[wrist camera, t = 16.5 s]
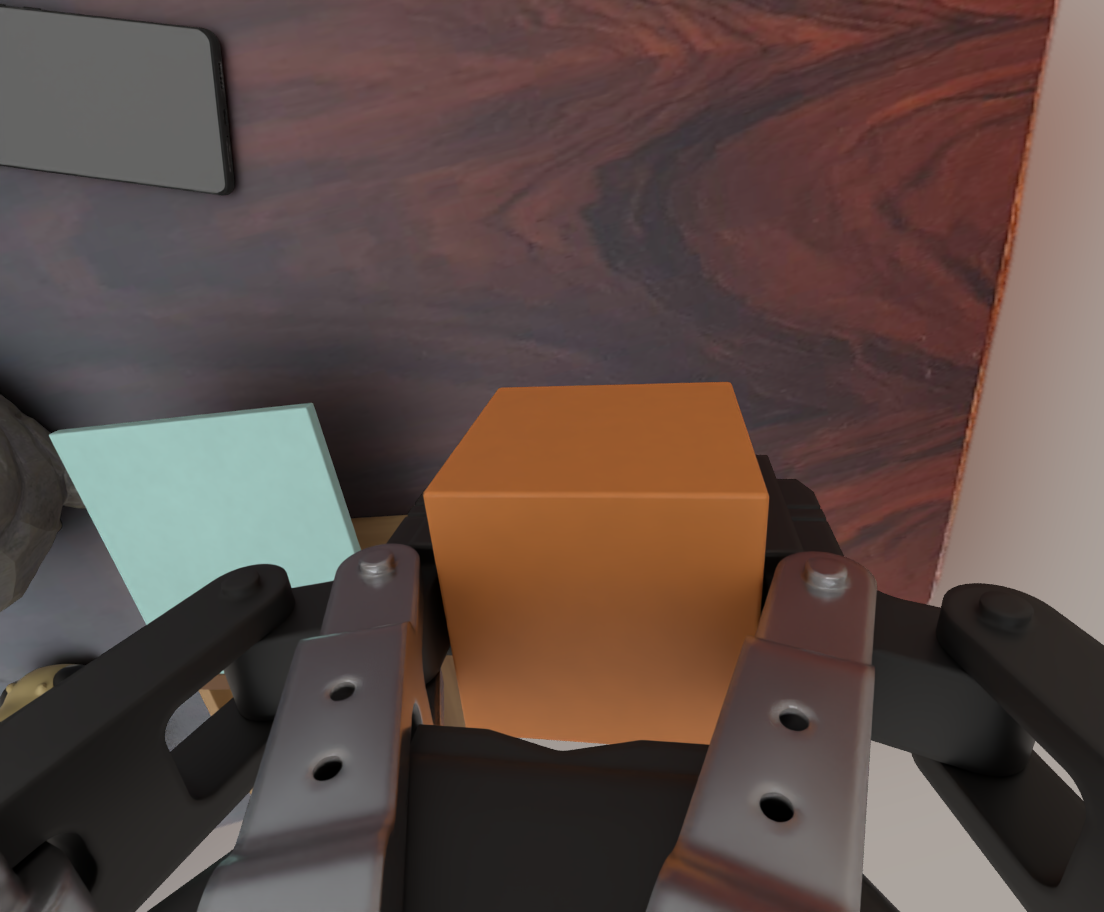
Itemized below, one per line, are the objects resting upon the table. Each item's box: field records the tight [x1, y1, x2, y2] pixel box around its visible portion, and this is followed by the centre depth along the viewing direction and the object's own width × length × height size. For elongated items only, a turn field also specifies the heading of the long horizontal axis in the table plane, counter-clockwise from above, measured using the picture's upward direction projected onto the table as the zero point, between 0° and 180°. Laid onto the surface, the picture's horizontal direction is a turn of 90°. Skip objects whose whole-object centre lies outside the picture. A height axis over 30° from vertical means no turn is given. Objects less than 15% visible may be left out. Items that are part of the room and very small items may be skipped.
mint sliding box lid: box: [49, 403, 361, 690], centre depth 27 cm, size 12×14×4 cm
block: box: [423, 382, 769, 745], centre depth 11 cm, size 5×5×5 cm
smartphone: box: [0, 4, 235, 195], centre depth 30 cm, size 7×1×15 cm
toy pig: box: [0, 664, 85, 722], centre depth 45 cm, size 10×12×11 cm
